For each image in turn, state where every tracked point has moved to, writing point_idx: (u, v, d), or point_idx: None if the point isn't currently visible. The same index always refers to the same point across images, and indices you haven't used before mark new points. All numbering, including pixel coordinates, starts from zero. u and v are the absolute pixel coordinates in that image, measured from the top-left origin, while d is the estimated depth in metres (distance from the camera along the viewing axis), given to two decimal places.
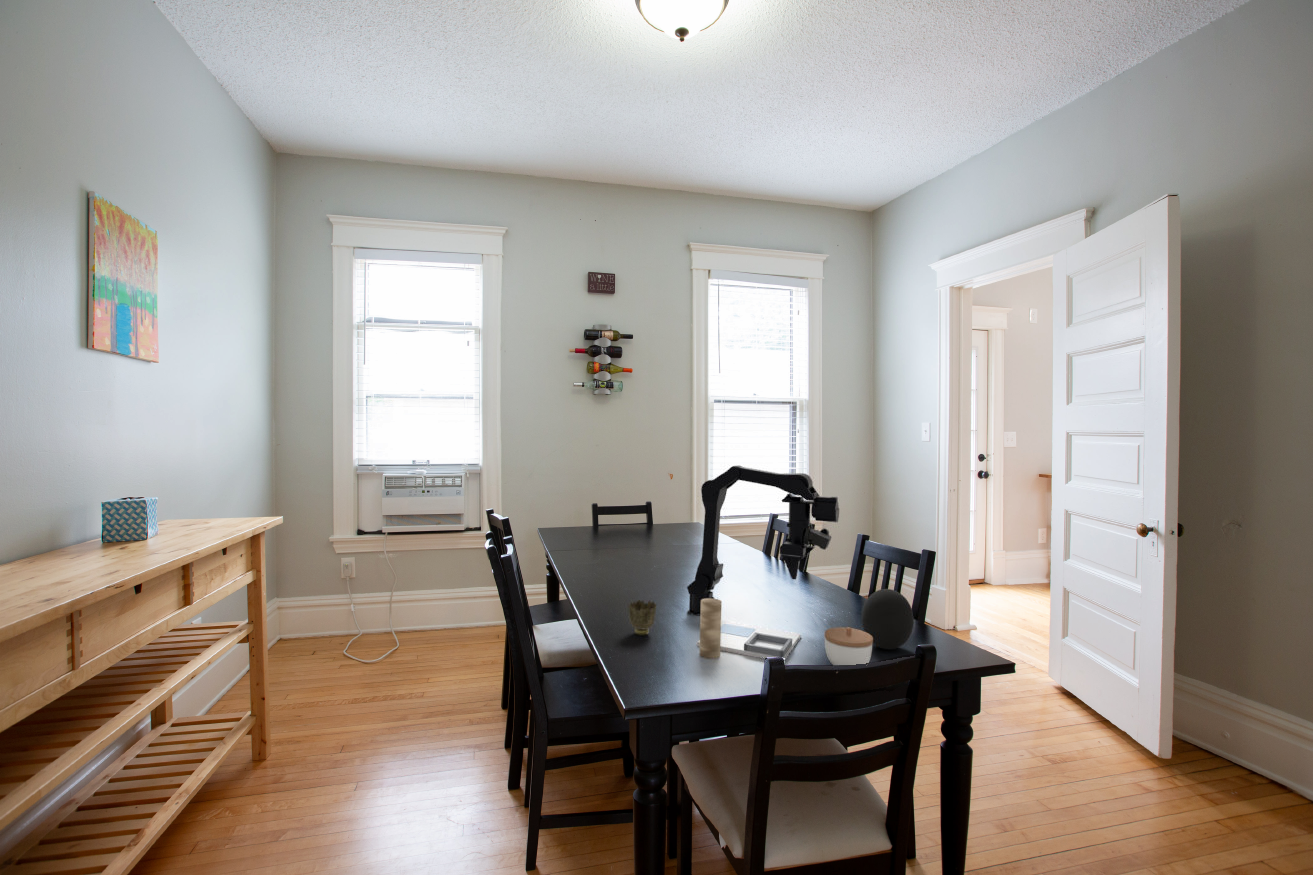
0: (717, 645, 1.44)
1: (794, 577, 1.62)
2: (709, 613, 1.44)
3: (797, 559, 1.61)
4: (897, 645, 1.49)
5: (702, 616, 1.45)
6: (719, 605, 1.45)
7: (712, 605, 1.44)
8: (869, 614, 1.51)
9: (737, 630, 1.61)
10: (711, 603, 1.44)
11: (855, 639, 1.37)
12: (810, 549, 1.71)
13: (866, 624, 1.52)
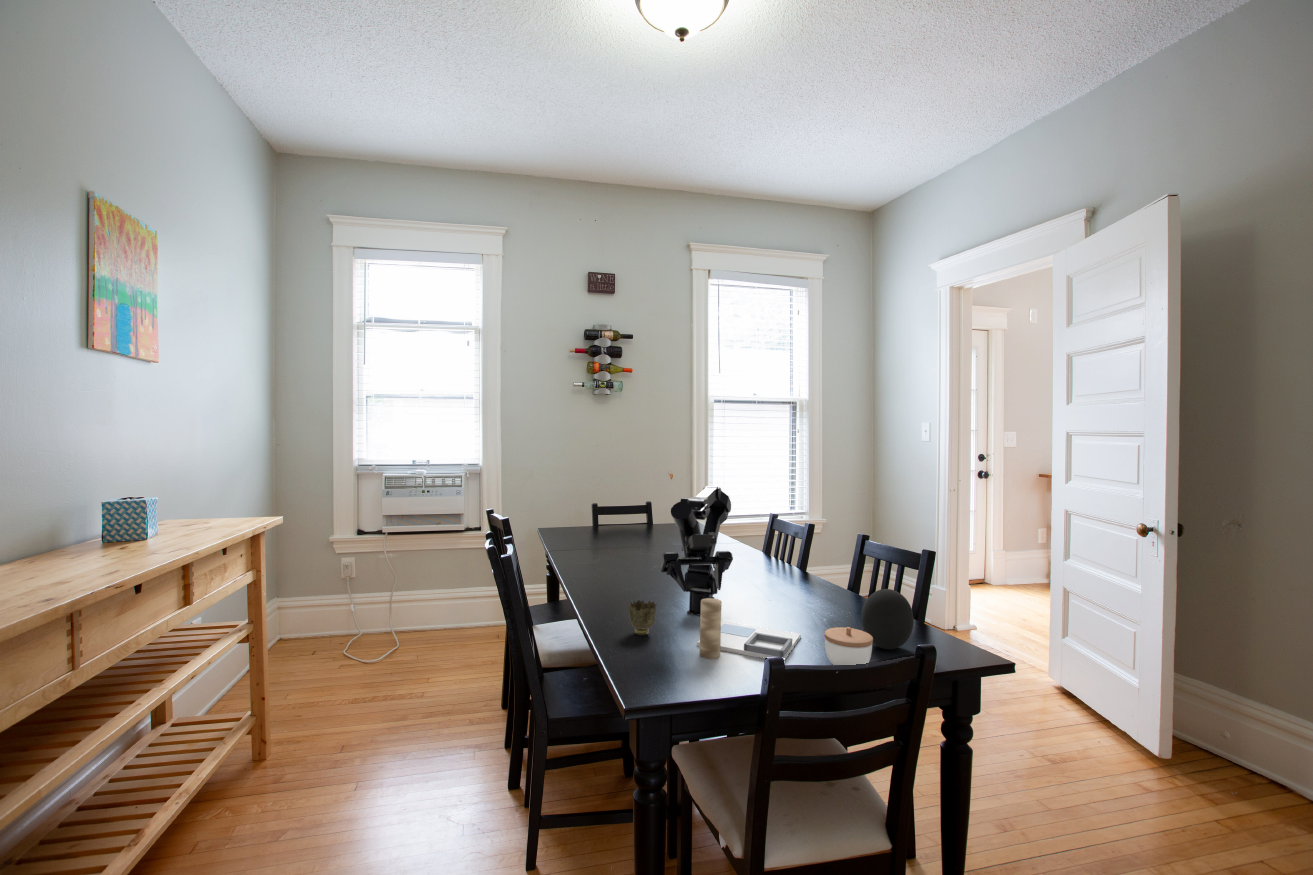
0: (717, 645, 1.44)
1: (683, 588, 1.53)
2: (709, 613, 1.44)
3: (675, 568, 1.56)
4: (897, 645, 1.49)
5: (702, 616, 1.45)
6: (719, 605, 1.45)
7: (712, 605, 1.44)
8: (869, 614, 1.51)
9: (737, 630, 1.61)
10: (711, 603, 1.44)
11: (855, 639, 1.37)
12: (718, 562, 1.58)
13: (866, 624, 1.52)
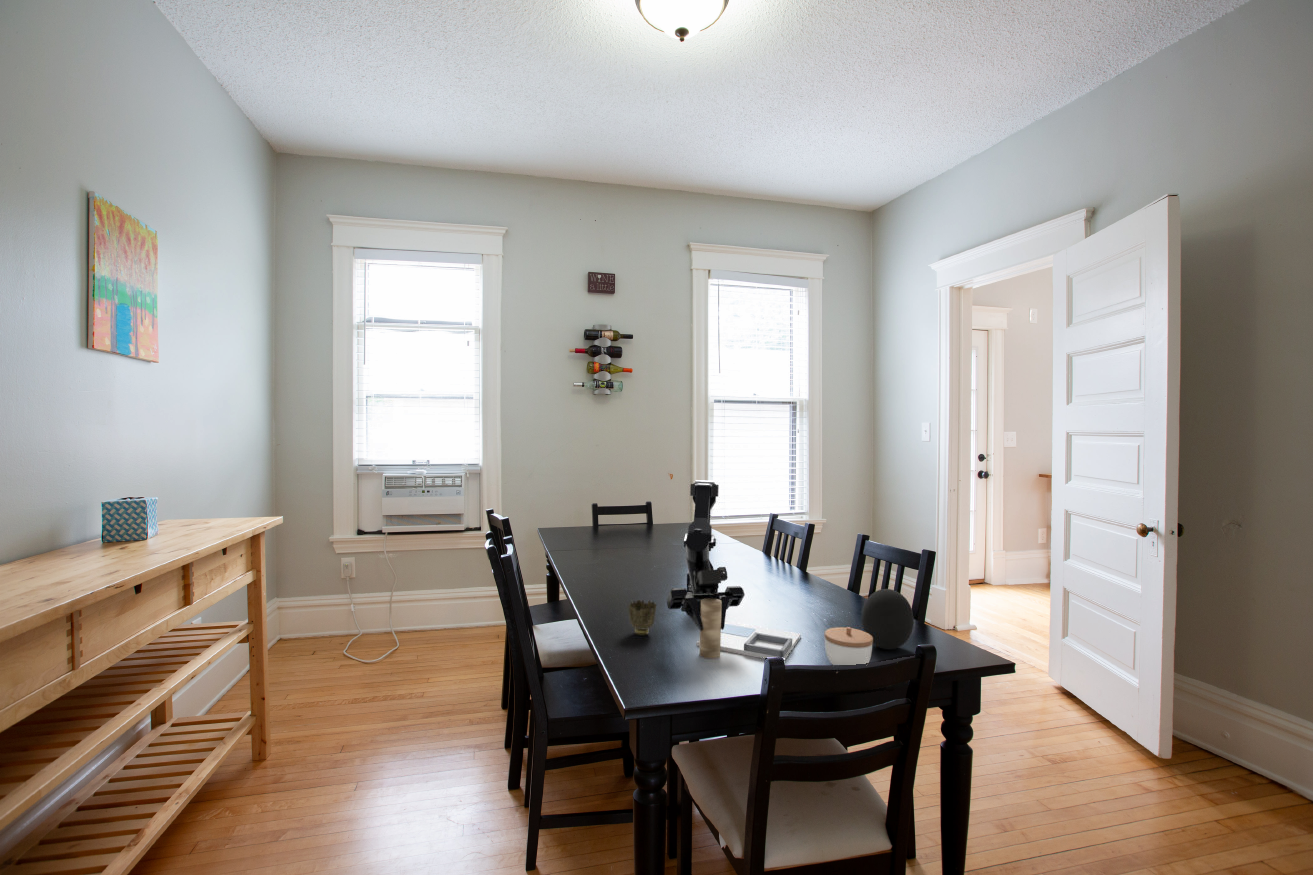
0: (717, 645, 1.44)
1: (699, 627, 1.44)
2: (709, 613, 1.44)
3: (690, 605, 1.47)
4: (897, 645, 1.49)
5: (702, 616, 1.45)
6: (719, 605, 1.45)
7: (713, 605, 1.44)
8: (869, 614, 1.51)
9: (737, 630, 1.61)
10: (711, 603, 1.44)
11: (855, 639, 1.37)
12: (721, 599, 1.48)
13: (866, 624, 1.52)
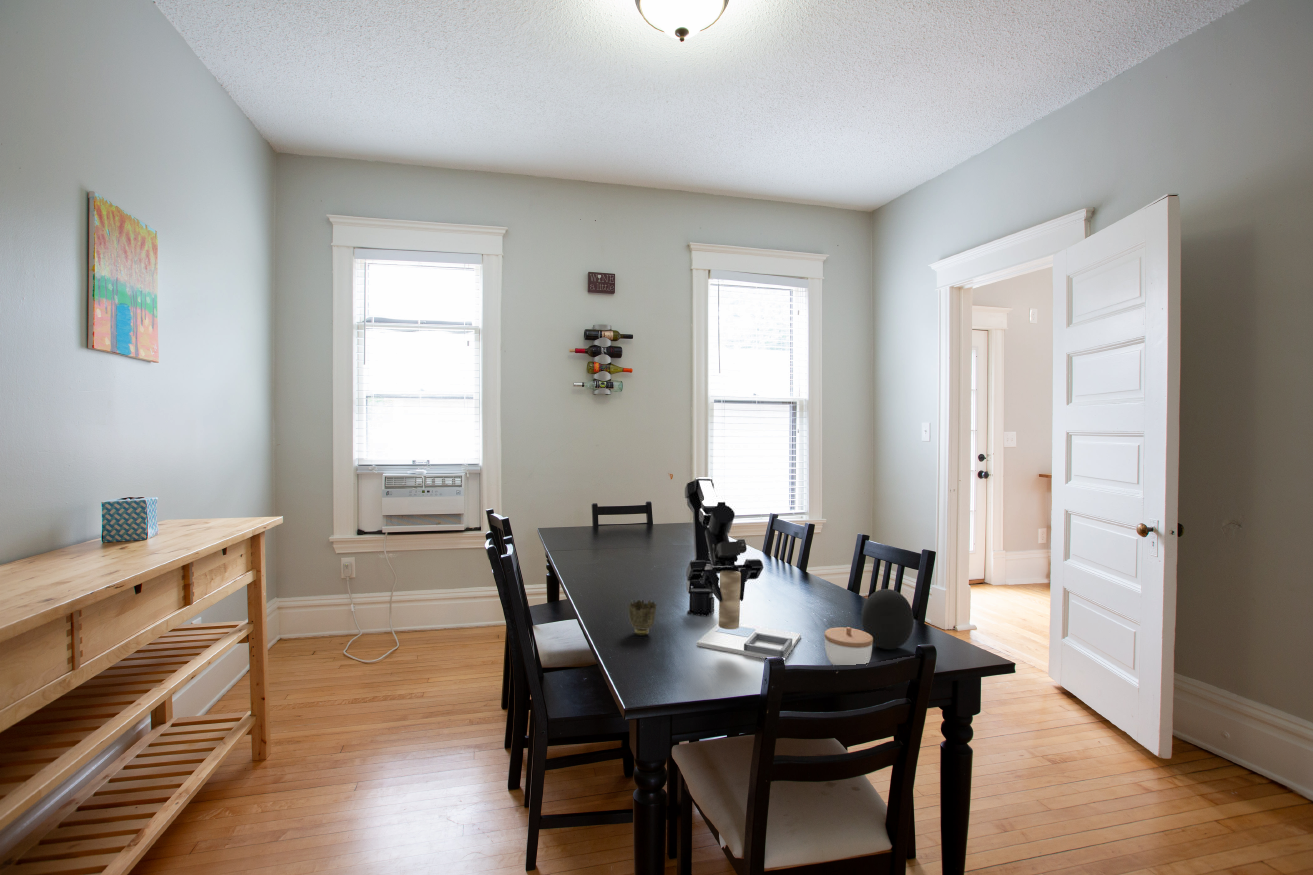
0: (736, 616, 1.45)
1: (719, 598, 1.45)
2: (728, 584, 1.45)
3: (710, 577, 1.48)
4: (897, 645, 1.49)
5: (721, 587, 1.46)
6: (738, 576, 1.45)
7: (732, 577, 1.44)
8: (869, 614, 1.51)
9: (737, 630, 1.61)
10: (730, 575, 1.45)
11: (855, 639, 1.37)
12: (740, 571, 1.49)
13: (866, 624, 1.52)
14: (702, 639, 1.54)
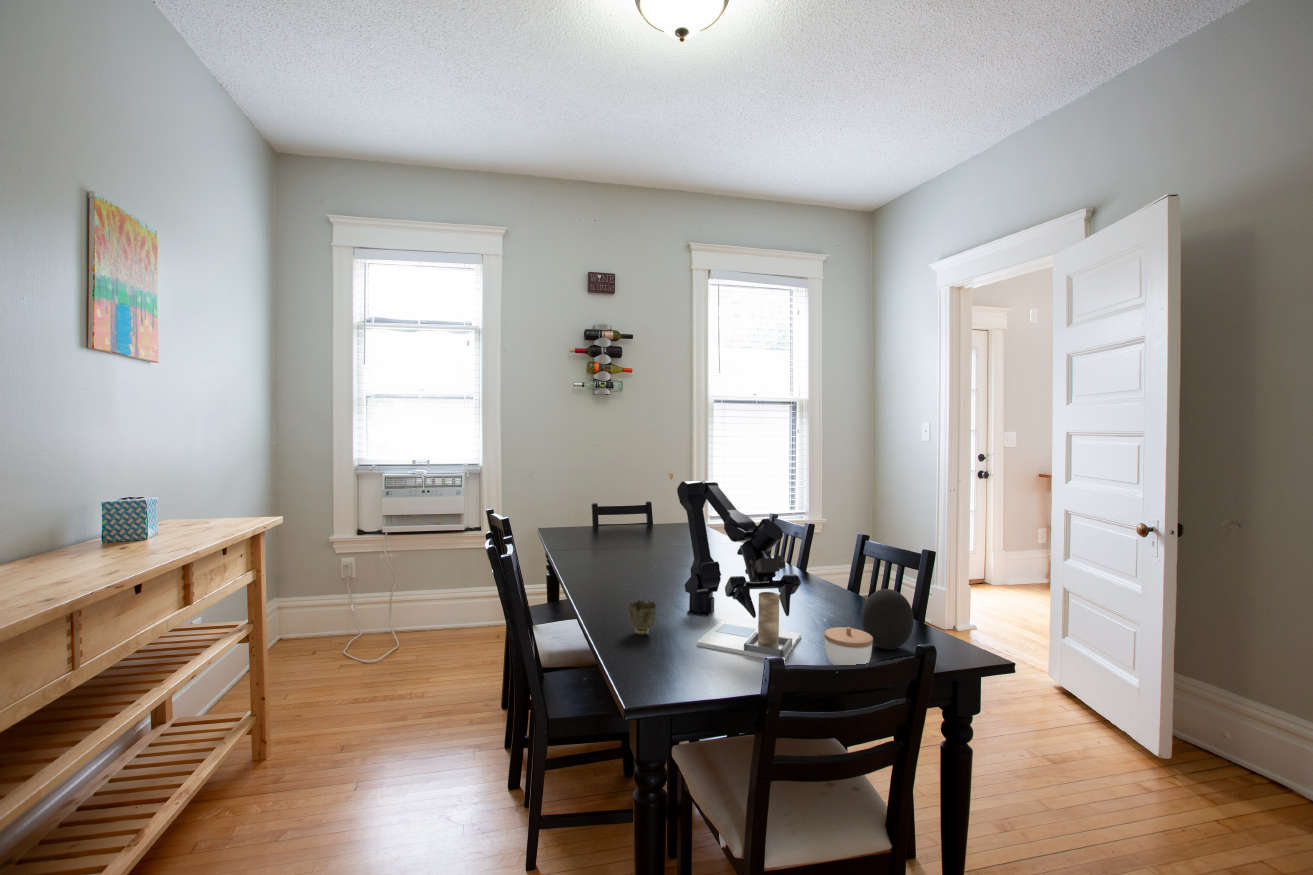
0: (776, 638, 1.47)
1: (753, 614, 1.47)
2: (768, 606, 1.47)
3: (743, 593, 1.50)
4: (897, 645, 1.49)
5: (761, 609, 1.48)
6: (777, 598, 1.48)
7: (771, 598, 1.47)
8: (869, 614, 1.51)
9: (737, 630, 1.61)
10: (770, 596, 1.47)
11: (855, 639, 1.37)
12: (785, 586, 1.52)
13: (866, 624, 1.52)
14: (702, 639, 1.54)
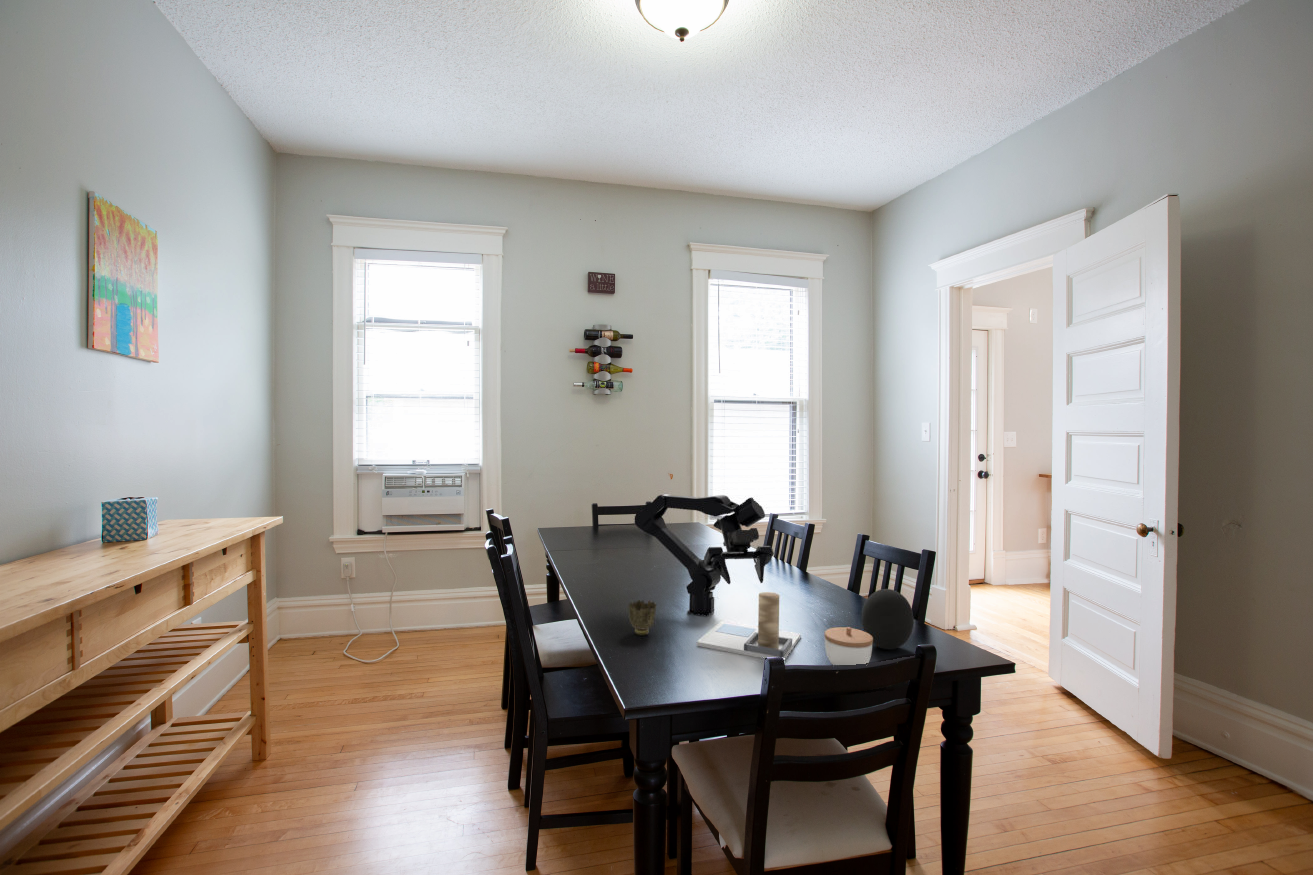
0: (776, 638, 1.47)
1: (728, 581, 1.61)
2: (768, 606, 1.47)
3: (719, 562, 1.64)
4: (897, 645, 1.49)
5: (761, 609, 1.48)
6: (777, 598, 1.48)
7: (771, 599, 1.47)
8: (869, 614, 1.51)
9: (737, 630, 1.61)
10: (770, 597, 1.47)
11: (855, 639, 1.37)
12: (760, 556, 1.66)
13: (866, 624, 1.52)
14: (702, 639, 1.54)
